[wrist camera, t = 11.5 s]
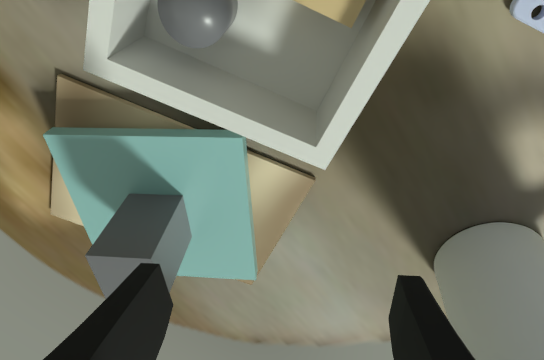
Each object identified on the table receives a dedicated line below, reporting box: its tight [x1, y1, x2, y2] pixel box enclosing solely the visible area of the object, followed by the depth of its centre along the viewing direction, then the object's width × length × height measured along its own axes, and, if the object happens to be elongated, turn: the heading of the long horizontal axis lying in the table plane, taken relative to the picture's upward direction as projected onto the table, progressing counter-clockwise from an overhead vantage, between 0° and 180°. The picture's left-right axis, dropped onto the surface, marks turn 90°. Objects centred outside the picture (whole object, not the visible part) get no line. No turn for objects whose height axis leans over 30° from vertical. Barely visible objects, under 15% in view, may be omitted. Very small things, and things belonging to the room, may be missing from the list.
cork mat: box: [51, 74, 315, 285], centre depth 22 cm, size 14×10×1 cm
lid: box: [43, 127, 258, 299], centre depth 19 cm, size 10×10×6 cm
